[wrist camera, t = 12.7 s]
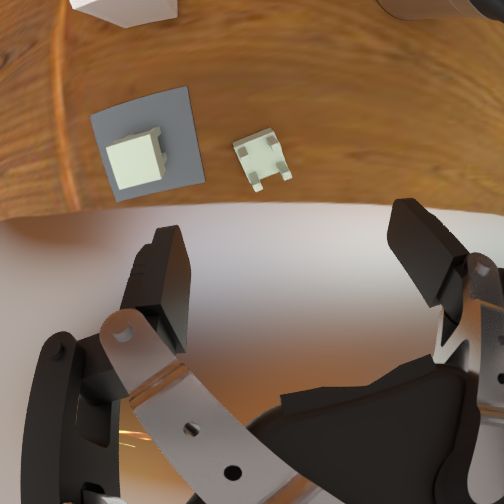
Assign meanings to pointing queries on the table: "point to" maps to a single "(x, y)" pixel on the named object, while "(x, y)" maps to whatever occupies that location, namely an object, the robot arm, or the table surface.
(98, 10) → the milk carton
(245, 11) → the table surface
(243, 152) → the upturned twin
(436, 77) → the table surface
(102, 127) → the mat
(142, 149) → the cube with twin tabs
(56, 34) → the table surface
